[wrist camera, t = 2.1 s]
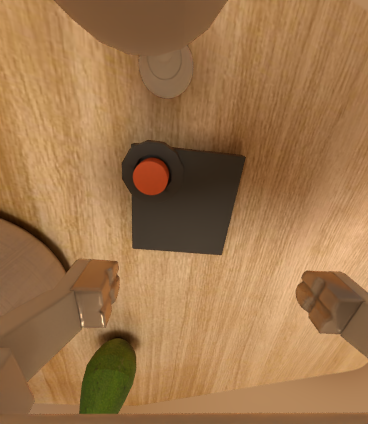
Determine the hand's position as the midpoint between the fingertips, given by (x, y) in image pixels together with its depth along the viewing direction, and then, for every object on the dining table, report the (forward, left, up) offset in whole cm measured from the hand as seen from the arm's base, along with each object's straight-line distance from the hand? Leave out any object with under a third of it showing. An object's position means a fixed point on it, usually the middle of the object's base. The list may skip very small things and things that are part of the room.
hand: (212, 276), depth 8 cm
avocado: (+32, -10, -15) cm, 37 cm away
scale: (+3, -1, -15) cm, 15 cm away
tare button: (-1, -4, -12) cm, 13 cm away
